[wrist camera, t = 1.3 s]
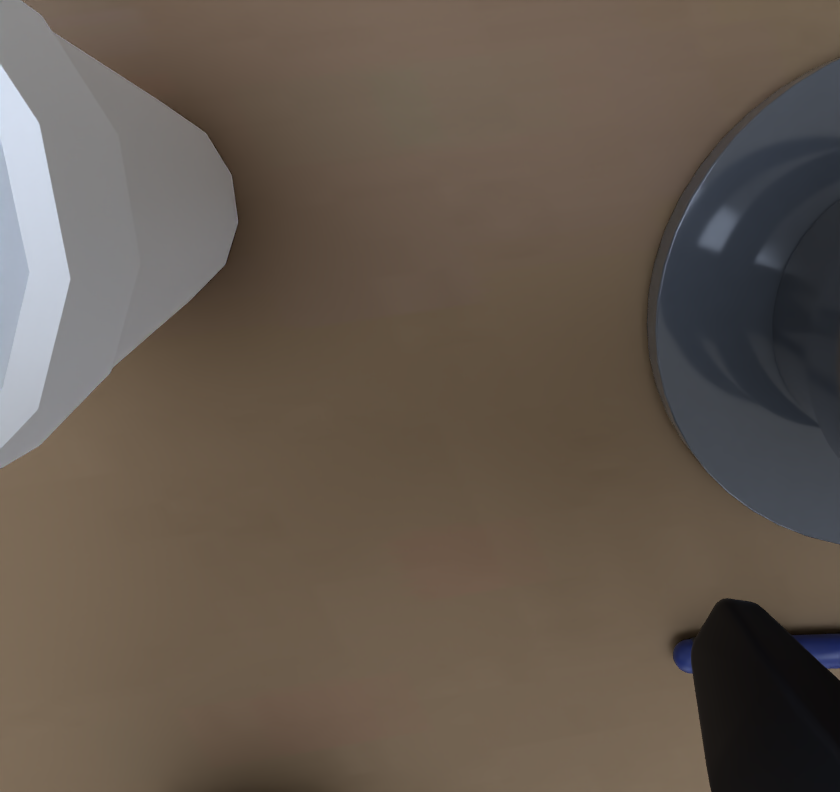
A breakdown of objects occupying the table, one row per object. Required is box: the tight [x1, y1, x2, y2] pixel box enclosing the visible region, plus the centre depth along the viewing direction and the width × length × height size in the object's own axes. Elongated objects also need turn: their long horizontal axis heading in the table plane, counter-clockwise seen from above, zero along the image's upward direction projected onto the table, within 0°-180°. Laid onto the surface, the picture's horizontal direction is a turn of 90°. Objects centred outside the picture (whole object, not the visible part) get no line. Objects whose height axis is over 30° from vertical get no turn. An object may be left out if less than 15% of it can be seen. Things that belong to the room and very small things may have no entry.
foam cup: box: [0, 0, 238, 469], centre depth 17 cm, size 10×9×13 cm
